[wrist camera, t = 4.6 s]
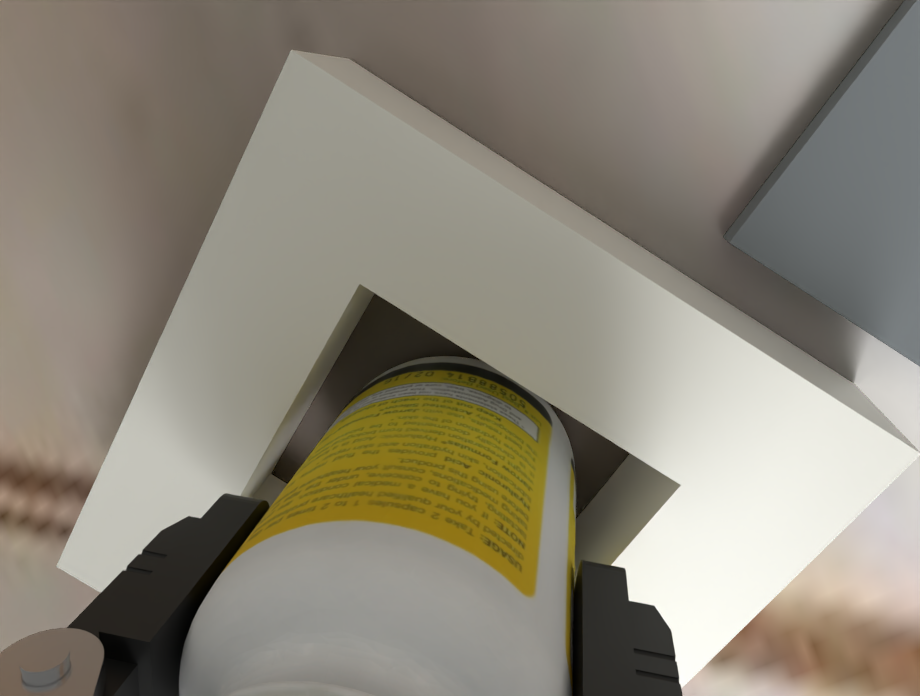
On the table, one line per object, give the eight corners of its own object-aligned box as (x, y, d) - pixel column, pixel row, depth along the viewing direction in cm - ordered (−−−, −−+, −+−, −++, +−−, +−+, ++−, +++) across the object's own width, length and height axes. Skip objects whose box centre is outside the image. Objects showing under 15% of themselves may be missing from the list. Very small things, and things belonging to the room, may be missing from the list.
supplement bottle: (296, 400, 16) (-76, 795, 7) (515, 311, 15) (413, 662, 5) (401, 592, 17) (205, 1139, 8) (614, 527, 16) (663, 1106, 7)
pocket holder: (531, 732, 19) (523, 843, 16) (136, 493, 18) (55, 566, 15) (854, 384, 14) (921, 454, 12) (349, 58, 14) (291, 49, 11)
